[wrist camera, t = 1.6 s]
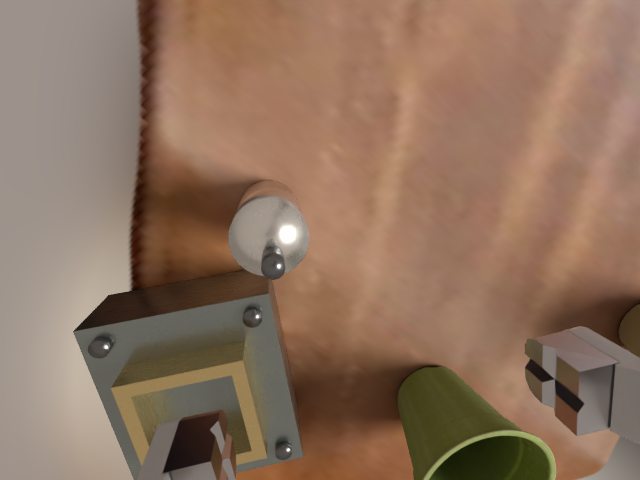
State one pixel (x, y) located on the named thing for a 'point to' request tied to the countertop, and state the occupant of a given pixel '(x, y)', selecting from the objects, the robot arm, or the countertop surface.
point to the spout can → (268, 230)
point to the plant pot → (465, 433)
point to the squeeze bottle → (631, 330)
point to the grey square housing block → (195, 364)
